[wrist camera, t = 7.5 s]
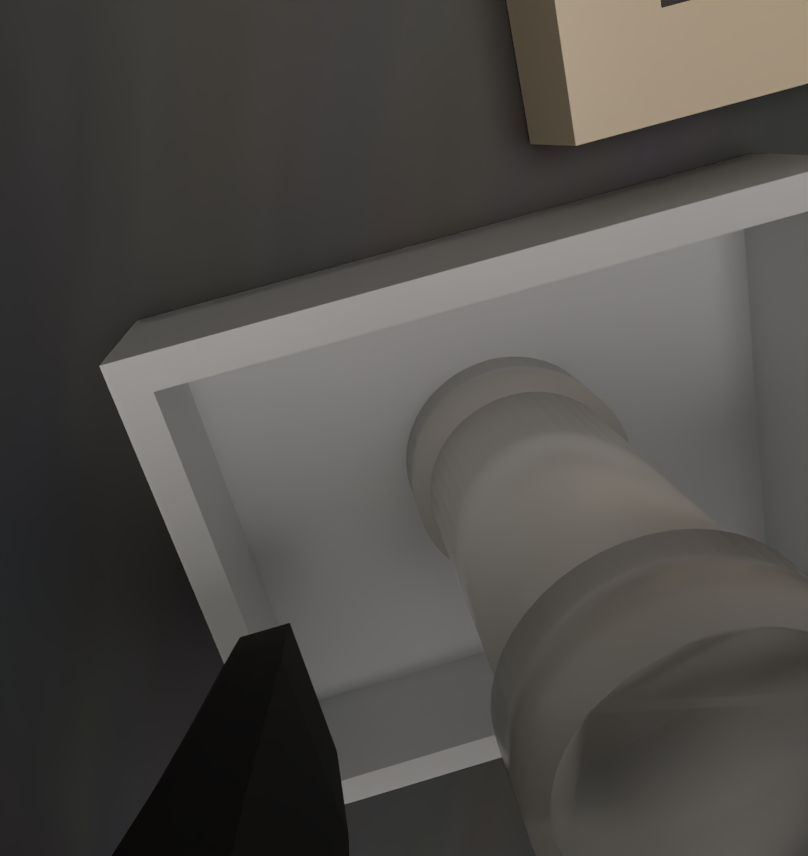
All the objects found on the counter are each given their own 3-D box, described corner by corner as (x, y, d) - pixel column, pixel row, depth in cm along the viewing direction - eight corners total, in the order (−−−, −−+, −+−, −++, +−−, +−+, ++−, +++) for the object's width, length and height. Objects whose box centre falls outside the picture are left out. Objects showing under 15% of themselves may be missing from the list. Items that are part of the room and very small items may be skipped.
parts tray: (752, 152, 12) (861, 157, 10) (778, 569, 15) (866, 647, 13) (137, 320, 12) (99, 365, 9) (290, 713, 15) (289, 820, 12)
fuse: (592, 335, 12) (926, 558, 6) (612, 517, 14) (904, 864, 7) (386, 383, 12) (496, 669, 6) (426, 563, 13) (554, 965, 7)
